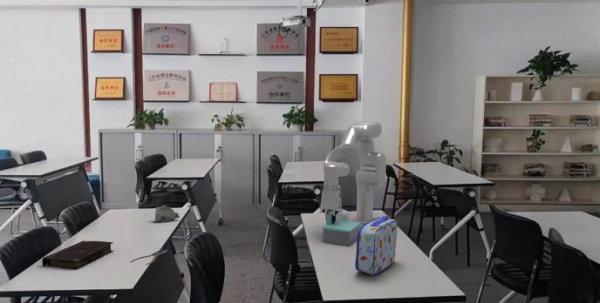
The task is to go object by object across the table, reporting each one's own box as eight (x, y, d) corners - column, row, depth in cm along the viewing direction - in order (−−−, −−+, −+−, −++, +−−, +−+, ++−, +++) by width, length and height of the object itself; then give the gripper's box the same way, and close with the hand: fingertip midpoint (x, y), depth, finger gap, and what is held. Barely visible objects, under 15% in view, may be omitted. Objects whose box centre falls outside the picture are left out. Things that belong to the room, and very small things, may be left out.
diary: (42, 268, 197) (41, 256, 196) (82, 249, 221) (81, 239, 221) (78, 271, 193) (77, 259, 192) (115, 252, 217) (115, 242, 216)
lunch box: (377, 256, 211) (378, 210, 209) (399, 260, 206) (400, 213, 203) (352, 275, 188) (352, 223, 185) (375, 280, 182) (376, 227, 180)
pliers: (128, 262, 200) (149, 248, 220) (128, 264, 200) (149, 249, 220) (149, 264, 199) (168, 249, 219) (149, 265, 199) (168, 251, 219)
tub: (334, 233, 246) (335, 221, 245) (359, 237, 240) (359, 224, 239) (323, 242, 232) (323, 228, 231) (348, 246, 226) (349, 232, 225)
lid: (334, 223, 246) (334, 210, 245) (360, 227, 239) (361, 213, 239) (321, 231, 231) (322, 217, 230) (349, 235, 224) (349, 220, 224)
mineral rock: (180, 219, 274) (180, 203, 273) (171, 224, 264) (171, 207, 263) (161, 218, 277) (160, 202, 276) (151, 223, 266) (151, 206, 265)
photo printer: (332, 229, 254) (332, 208, 253) (337, 228, 257) (338, 206, 256) (345, 233, 247) (345, 211, 245) (350, 232, 249) (351, 210, 248)
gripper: (348, 187, 235) (347, 222, 237) (319, 185, 243) (319, 218, 245) (342, 190, 229) (342, 226, 231) (314, 187, 236) (313, 222, 238)
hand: (330, 222), depth 238 cm, fingers closed on lid, 2 cm apart
